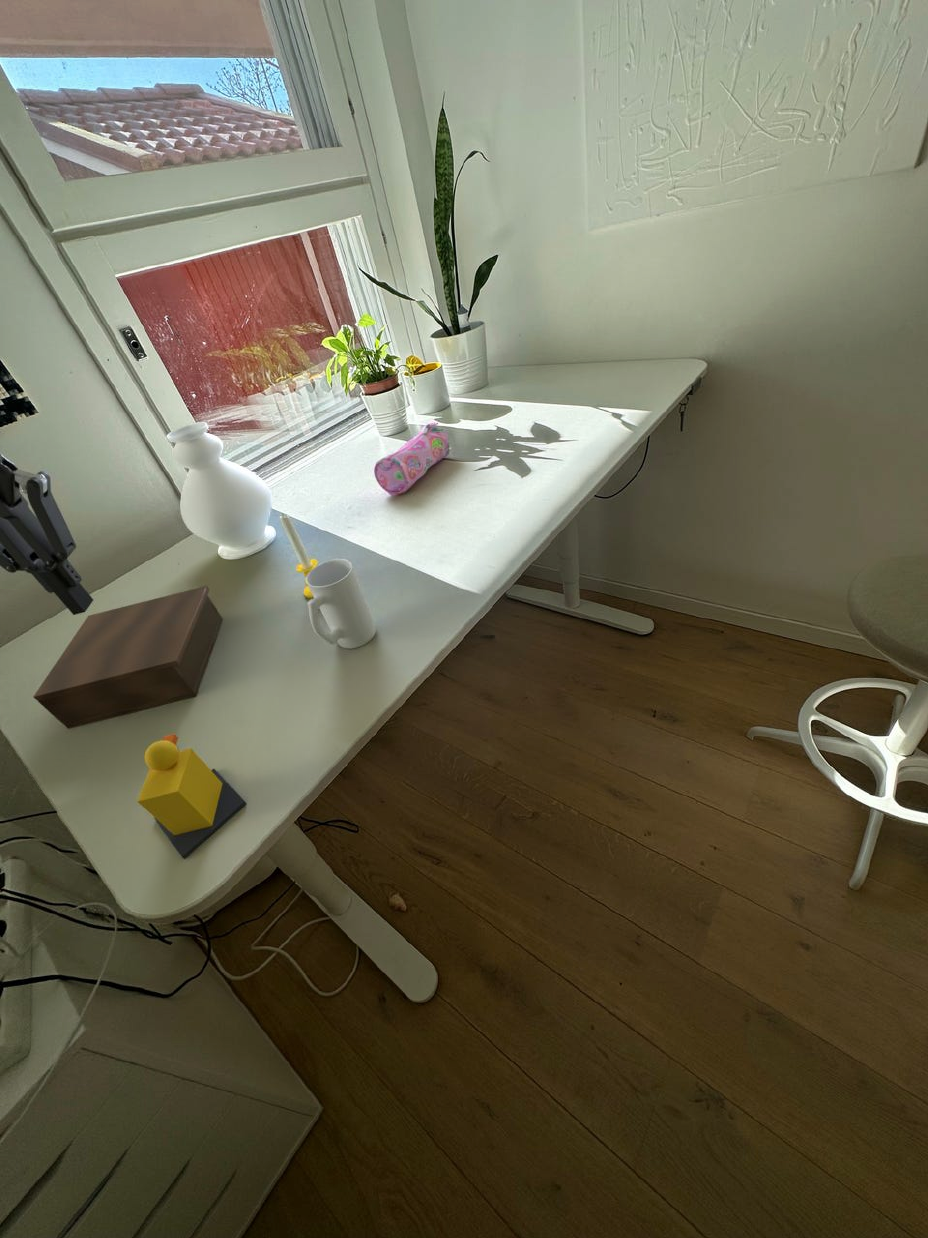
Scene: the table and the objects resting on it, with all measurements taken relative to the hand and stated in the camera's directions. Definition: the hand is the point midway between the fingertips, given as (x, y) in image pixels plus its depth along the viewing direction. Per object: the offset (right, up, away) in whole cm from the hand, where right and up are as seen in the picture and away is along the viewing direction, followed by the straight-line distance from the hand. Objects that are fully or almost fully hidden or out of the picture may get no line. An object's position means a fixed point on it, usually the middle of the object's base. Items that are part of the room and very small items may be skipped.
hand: (83, 607), depth 67 cm
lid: (-3, -5, +14) cm, 15 cm away
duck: (+18, -24, -6) cm, 30 cm away
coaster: (+18, -24, -6) cm, 31 cm away
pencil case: (+38, +32, +55) cm, 75 cm away
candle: (+23, +4, +26) cm, 35 cm away
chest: (-2, -10, +18) cm, 20 cm away
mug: (+32, -5, +13) cm, 35 cm away
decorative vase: (+2, +15, +46) cm, 48 cm away
